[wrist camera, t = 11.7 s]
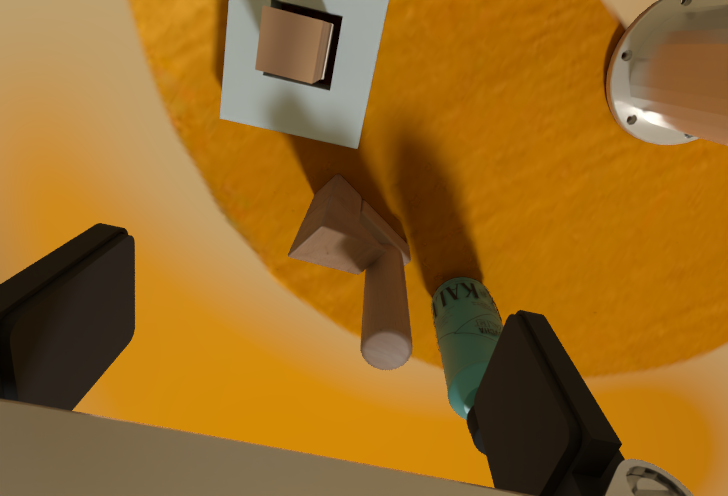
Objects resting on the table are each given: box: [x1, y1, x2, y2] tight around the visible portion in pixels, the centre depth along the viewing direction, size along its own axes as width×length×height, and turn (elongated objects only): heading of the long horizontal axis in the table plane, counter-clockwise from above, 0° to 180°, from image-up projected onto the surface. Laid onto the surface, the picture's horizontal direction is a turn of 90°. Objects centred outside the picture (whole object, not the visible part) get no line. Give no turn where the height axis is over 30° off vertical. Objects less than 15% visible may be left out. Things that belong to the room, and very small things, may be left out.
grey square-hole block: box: [220, 0, 389, 149], centre depth 37 cm, size 12×14×4 cm
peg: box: [255, 5, 335, 84], centre depth 34 cm, size 4×4×10 cm
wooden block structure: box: [288, 174, 412, 370], centre depth 37 cm, size 4×11×18 cm, turn 43°
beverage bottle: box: [431, 277, 504, 455], centre depth 40 cm, size 6×7×20 cm
